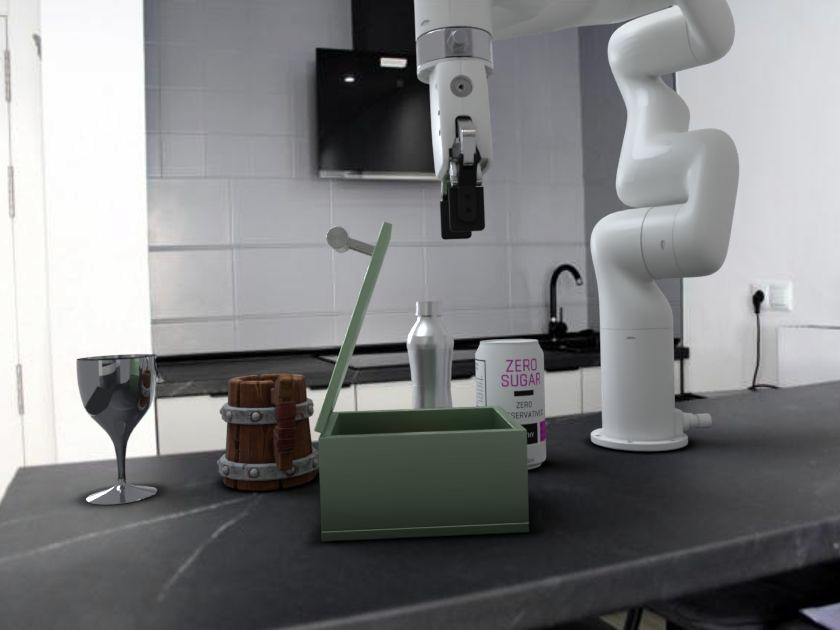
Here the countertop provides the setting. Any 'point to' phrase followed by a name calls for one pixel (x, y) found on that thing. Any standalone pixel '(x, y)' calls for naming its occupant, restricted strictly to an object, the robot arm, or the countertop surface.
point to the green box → (423, 473)
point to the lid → (341, 244)
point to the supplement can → (515, 387)
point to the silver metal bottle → (430, 357)
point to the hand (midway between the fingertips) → (461, 235)
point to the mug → (268, 433)
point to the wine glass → (118, 410)
